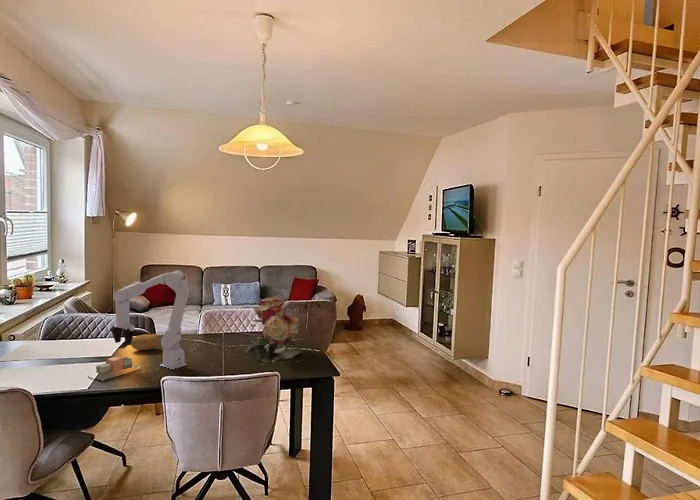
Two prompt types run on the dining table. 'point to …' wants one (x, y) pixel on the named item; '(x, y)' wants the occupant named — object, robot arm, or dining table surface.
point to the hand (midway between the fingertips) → (123, 343)
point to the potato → (145, 342)
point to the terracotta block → (115, 363)
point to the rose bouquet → (274, 331)
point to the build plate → (106, 367)
